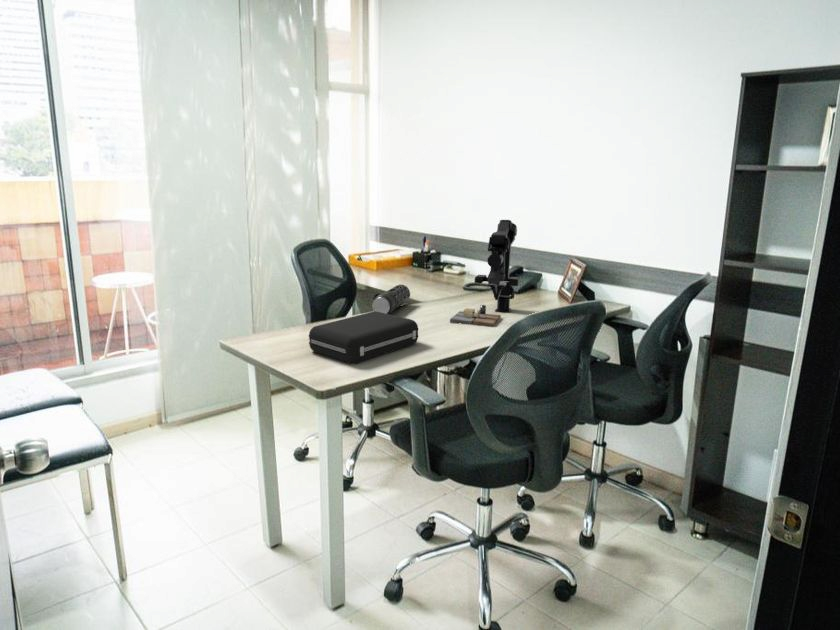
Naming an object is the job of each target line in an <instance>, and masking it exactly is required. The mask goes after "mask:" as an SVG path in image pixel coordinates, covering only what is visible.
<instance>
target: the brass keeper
mask: <svg viewBox="0 0 840 630" xmlns="http://www.w3.org/2000/svg"><path fill="white" fill-rule="evenodd" d="M463 312H464V314H463V317H467V318H473V312H476V313H477V319H478V318H479V313H480V308H479V309H478V310H477V311H476V309H475V308H467V307H466V308H464V310H463Z"/></svg>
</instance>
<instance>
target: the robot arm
mask: <svg viewBox="0 0 840 630" xmlns="http://www.w3.org/2000/svg"><path fill="white" fill-rule="evenodd" d="M517 228H518V226H517V225H516V224H515V223H514V222H512V220H510V219H499V223H498V224H497V230H496V231H495V232H493V233H492V234H491V235H490V236H489V240H488V246H487V252H490V253H491V254H490V255H489V256H488V258H487V261H486V262H487V264H488V266H489V267H490V271H489V273H488V274H487V275H486V274H477V275H476V276H475V277H474V284H482V283H483V282H486V283H487V286H488V287H490V289H491V292H492V294H493V298H494V300H495V301H497V303H496V307H497V308H496V309H495V310H494V312H501V313H510V312H511V311H512V308H511V305H510V304H511V303H510V302H511V301H510V300H513V299H515V288H514V287H518V286H520V284H521V277H519V276H511V277H510V267H511V253H512V251H511V250H512V245H513V243H514V242H515V240H516V237H517V234H518V229H517Z"/></svg>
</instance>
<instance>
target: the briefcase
mask: <svg viewBox="0 0 840 630" xmlns="http://www.w3.org/2000/svg"><path fill="white" fill-rule="evenodd" d="M308 333H309V334H308V340H309V341H308V345H309V348H310V349H311V350H312V351H313V352H314V353H317V354H320V355H323V356H326V357H329V358H332V359H336V360H338V361H342V362H345V363H347V362H348V364H351V363H355V364H358V363H362V362H364V361H367V360H370V359H373V357H374V358H376V356H377V357H378V356H379V355H380V356H382V354H383V355H385V353H386V354H388V352H389V353H391V351H392V352H394V351H397V350H401V349H404V348H406V347H410V346H413V345H415V344H416V343H417V341H418V339H419V326H418V323H417V322H416V321H415V320H413V319H411V318H405V317H402V316H399V315H398V316H397V315H392V314H391V313H390V314H385V313H381V312H377V311H374V310H373V311H370V312H366V313H363V314H359V315H354V316H350V317H346V318H342V319H338V320H335V321H330V322H327V323H323V324H319V325H314V326H313V327H312V328H311V329H310V330H309V332H308Z"/></svg>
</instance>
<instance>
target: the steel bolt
mask: <svg viewBox="0 0 840 630" xmlns="http://www.w3.org/2000/svg"><path fill="white" fill-rule="evenodd" d="M479 306H480V307H479V309H480V313H479V317H481V318H485V315H486V314H487V313H486V312H487V305H486V304H480V305H479ZM473 317H477V311H475V312H473Z"/></svg>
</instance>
